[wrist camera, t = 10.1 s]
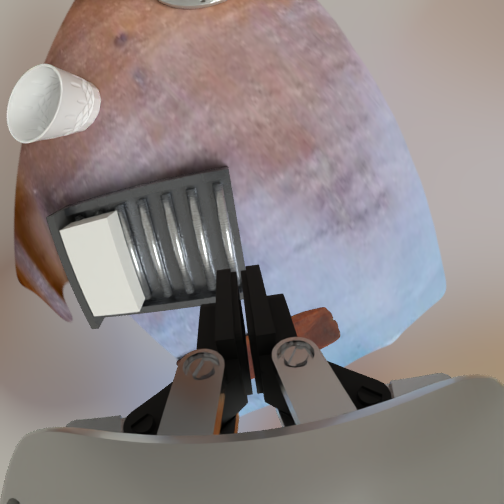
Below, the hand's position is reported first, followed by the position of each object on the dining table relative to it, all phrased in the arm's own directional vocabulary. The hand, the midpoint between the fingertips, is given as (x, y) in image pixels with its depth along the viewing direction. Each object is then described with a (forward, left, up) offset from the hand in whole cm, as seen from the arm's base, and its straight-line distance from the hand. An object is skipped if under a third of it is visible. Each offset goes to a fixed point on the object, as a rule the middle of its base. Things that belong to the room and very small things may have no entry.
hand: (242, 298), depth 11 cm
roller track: (+5, -11, -22) cm, 25 cm away
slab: (+5, -17, -20) cm, 27 cm away
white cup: (-15, -17, -22) cm, 32 cm away
